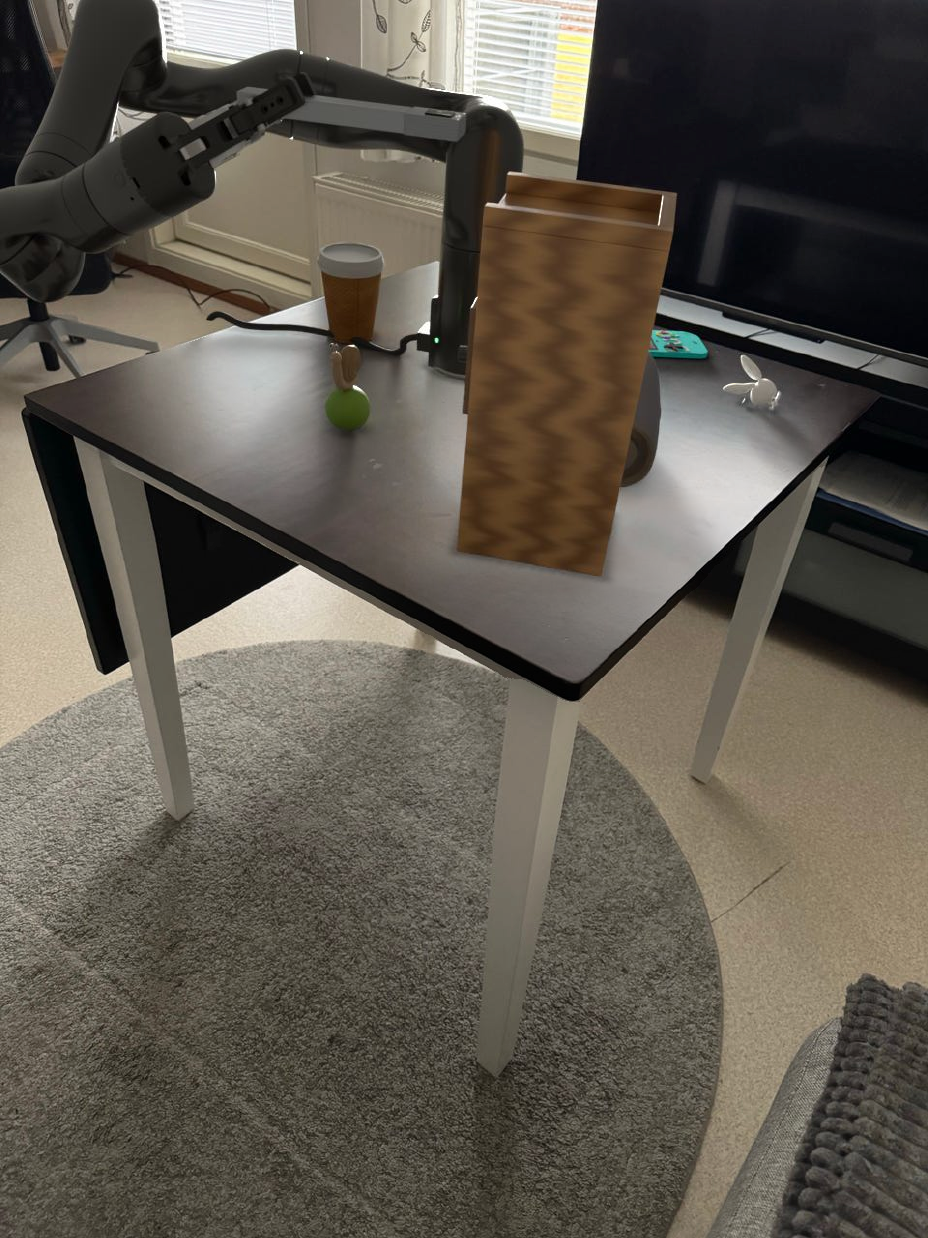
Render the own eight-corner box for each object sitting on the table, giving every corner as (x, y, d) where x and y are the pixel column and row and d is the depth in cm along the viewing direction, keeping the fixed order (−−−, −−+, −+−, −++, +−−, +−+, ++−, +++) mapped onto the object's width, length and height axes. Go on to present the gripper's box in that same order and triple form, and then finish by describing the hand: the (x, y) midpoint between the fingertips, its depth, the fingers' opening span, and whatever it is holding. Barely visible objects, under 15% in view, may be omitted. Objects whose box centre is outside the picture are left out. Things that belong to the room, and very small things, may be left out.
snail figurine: (314, 435, 110) (310, 339, 103) (337, 414, 115) (336, 320, 108) (355, 445, 109) (354, 349, 102) (377, 423, 114) (378, 330, 106)
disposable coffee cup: (328, 319, 139) (326, 237, 131) (389, 327, 138) (391, 245, 130) (311, 343, 131) (308, 258, 124) (376, 352, 131) (377, 267, 123)
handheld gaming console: (710, 351, 136) (611, 348, 135) (708, 358, 137) (610, 355, 136) (695, 330, 143) (601, 326, 141) (693, 336, 144) (600, 332, 142)
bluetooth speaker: (650, 503, 104) (668, 423, 97) (568, 491, 105) (581, 411, 98) (653, 415, 121) (669, 342, 115) (583, 405, 122) (595, 332, 116)
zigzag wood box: (441, 548, 94) (464, 203, 73) (464, 490, 103) (491, 168, 82) (601, 577, 92) (673, 231, 71) (611, 515, 101) (677, 192, 80)
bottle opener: (235, 113, 76) (234, 90, 75) (250, 106, 79) (248, 84, 78) (457, 141, 74) (458, 118, 73) (465, 134, 77) (466, 111, 76)
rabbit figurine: (772, 418, 123) (726, 382, 122) (757, 427, 127) (712, 393, 126) (793, 385, 124) (747, 349, 124) (778, 395, 128) (733, 361, 127)
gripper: (205, 197, 90) (352, 117, 83) (138, 238, 79) (299, 150, 72) (160, 118, 86) (309, 28, 79) (83, 150, 75) (248, 49, 68)
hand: (304, 87), depth 76 cm, fingers closed on bottle opener, 2 cm apart
